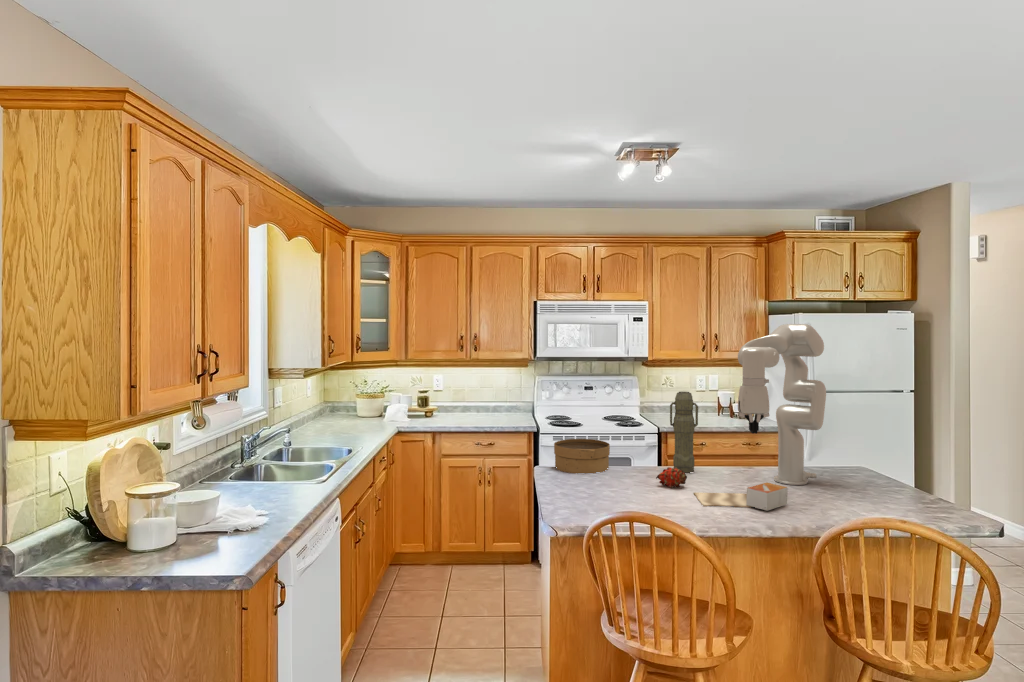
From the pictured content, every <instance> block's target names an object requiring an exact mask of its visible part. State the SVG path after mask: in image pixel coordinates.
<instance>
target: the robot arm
mask: <svg viewBox="0 0 1024 682" xmlns="http://www.w3.org/2000/svg"><path fill="white" fill-rule="evenodd" d="M824 350H825V343H824V340H823V338H822V336H821V335H820V333H818V331H817V330H816V328H814V327H813V326H812V325H811V324H809V323H785V324H781V325H779V326H778V327H776V328H775V329H774V330H773V331H772V332H771V333H770V334H769V335H765V336H762V337H758V338H755V339H751V340H749V341H748V342H746V343H744V344H743V345H742V346H741V347H740V348H739V351H738V353H737V360H738V364H739V365H741V366H742V385H740V386H739V390H738V397H737V398H738V399H737V410H738V413H737V414H738V417H741V418H743V419H746V421H748V431H749V432H750V433H751V434H753V435H755V434H757V435H758V431H759V429H760V425H759V423H761V421H762V419H765V418H769V417H770V399H769V398H770V397H769V390H768V387H767V385H766V384H769V383H770V379H769V378H768V379H767V378H766V376H765V375H766V369H768V368H773V367H776V366H777V365H778V363H779V362H780V355H781V357H782V360H783V363H784V365H785V366H784V367H785V372H784V373H785V374H784V378H783V379H784V380H783V387H782V395H783V398H784V399H785V400H786V401H788V402H794V403H803V404H810V405H803V404H802V405H801V404H792V403H791V404H788V403H787V404H782V405H779V406H778V407H777V408H776V411H775V419H776V425H777V435H778V439H777V442H778V444H777V446H778V448H777V449H778V451H777V452H778V454H777V455H778V457H777V459H778V460H777V461H778V463H777V465H778V467H777V473H778V474H777V475H775V476H774V477H773V480H774V482H777V483H779V484H783V485H790V486H803V485H808V483H809V481H808V479H817V473H815V472H807V471H805V470H804V466H805V462H804V461H805V459H804V457H805V456H804V455H805V440H804V437H803V435H802V433H801V431H800V430H805V431H806V430H807V431H819V430H820V429H822V426H823V424H824V418H825V412H826V411H825V409H826V400H827V388H826V386H825V383H824V382H822V381H821V380H817V379H808V375H809V367H808V365H807V364H806V362H805V361H804V360H803V359H802V358H801V357H811V358H813V357H814V358H816V357H819V356H821V355H823V353H824ZM753 415H754V417H753Z"/></svg>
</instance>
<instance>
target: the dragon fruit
mask: <svg viewBox="0 0 1024 682" xmlns="http://www.w3.org/2000/svg"><path fill="white" fill-rule="evenodd" d="M687 478H688V476H687V474H685V473H684V472H683V470H680V469H678V468H677V467H675V469H674V467H669V466H668V467H667V468H665V469H663V470H662V472H660V473H659V474H657V476H656V477H655V479H658V480H659V481H658V483H659V484H661V486H664V487H669V488H670V489H673V488H674V487H675V488H680V486H681V485H685V484H686V480H687Z"/></svg>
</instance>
